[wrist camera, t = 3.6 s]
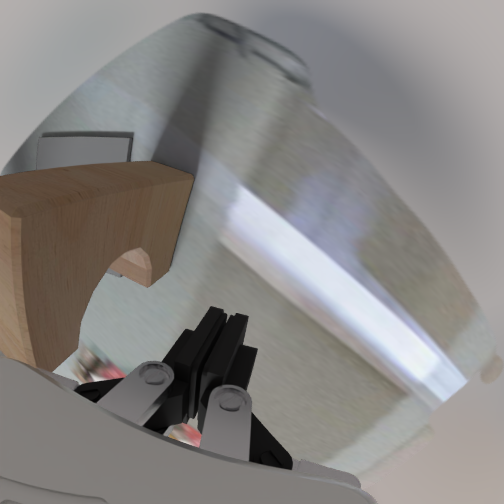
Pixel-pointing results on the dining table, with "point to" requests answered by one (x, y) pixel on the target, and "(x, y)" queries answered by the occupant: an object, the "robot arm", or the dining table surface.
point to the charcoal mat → (82, 154)
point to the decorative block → (79, 246)
